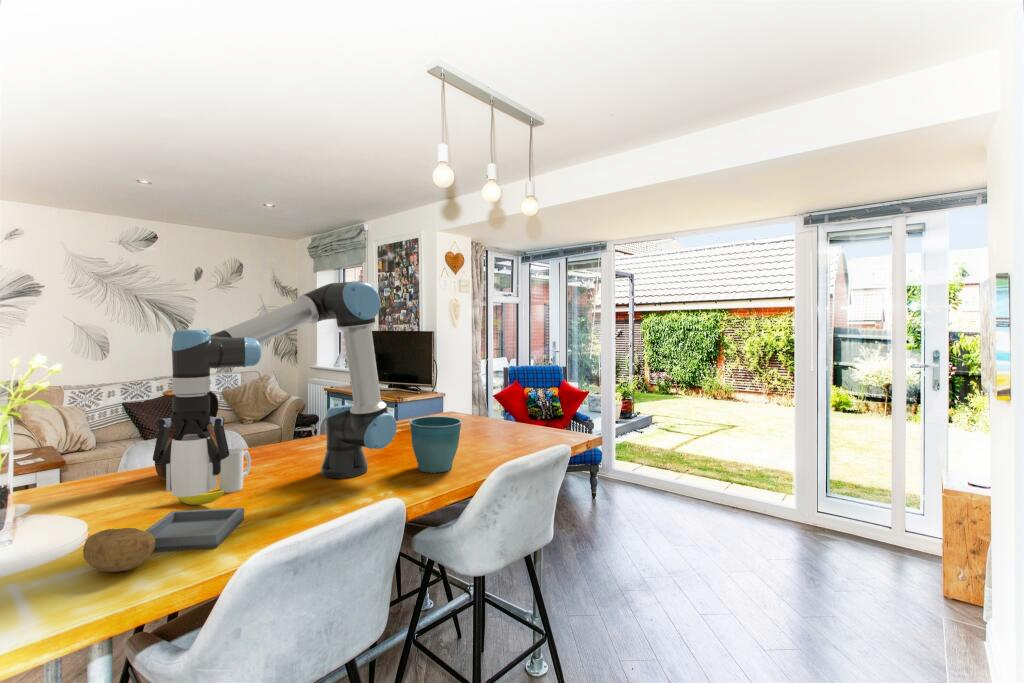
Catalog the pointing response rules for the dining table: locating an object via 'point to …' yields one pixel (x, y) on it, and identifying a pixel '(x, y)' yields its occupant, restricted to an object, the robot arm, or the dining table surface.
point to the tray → (195, 528)
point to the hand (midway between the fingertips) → (192, 488)
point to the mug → (233, 470)
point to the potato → (118, 549)
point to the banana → (202, 498)
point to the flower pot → (435, 442)
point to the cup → (189, 466)
